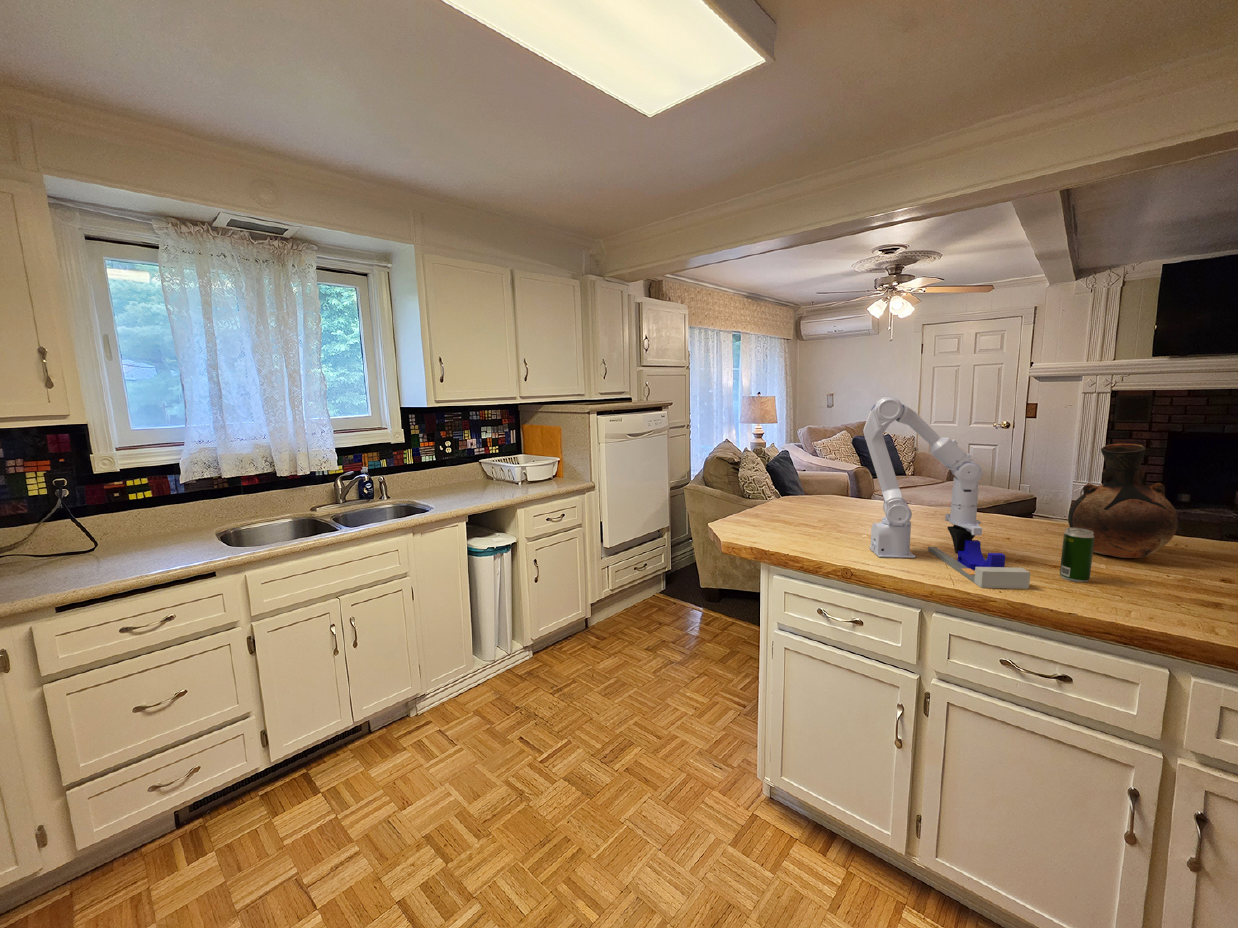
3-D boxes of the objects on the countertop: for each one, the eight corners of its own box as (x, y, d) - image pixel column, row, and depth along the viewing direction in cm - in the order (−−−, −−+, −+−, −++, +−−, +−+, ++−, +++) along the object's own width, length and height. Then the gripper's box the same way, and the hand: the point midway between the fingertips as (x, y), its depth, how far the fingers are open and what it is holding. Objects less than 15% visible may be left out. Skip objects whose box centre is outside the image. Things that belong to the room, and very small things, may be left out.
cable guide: (981, 587, 117) (982, 571, 116) (927, 550, 143) (928, 537, 143) (1028, 588, 116) (1030, 572, 115) (966, 551, 142) (967, 537, 141)
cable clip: (957, 561, 134) (958, 539, 133) (975, 561, 133) (977, 540, 133) (983, 578, 122) (985, 554, 121) (1003, 578, 122) (1005, 555, 121)
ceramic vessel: (1156, 551, 137) (1171, 442, 133) (1187, 572, 122) (1205, 450, 118) (1056, 541, 148) (1067, 440, 143) (1073, 560, 132) (1086, 447, 128)
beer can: (1078, 584, 117) (1083, 534, 115) (1053, 576, 122) (1058, 528, 121) (1095, 581, 118) (1101, 532, 117) (1070, 573, 124) (1075, 526, 122)
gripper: (996, 511, 126) (992, 563, 128) (965, 498, 140) (962, 545, 142) (966, 511, 127) (962, 562, 129) (938, 498, 141) (935, 545, 143)
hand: (960, 553), depth 135 cm, fingers closed
